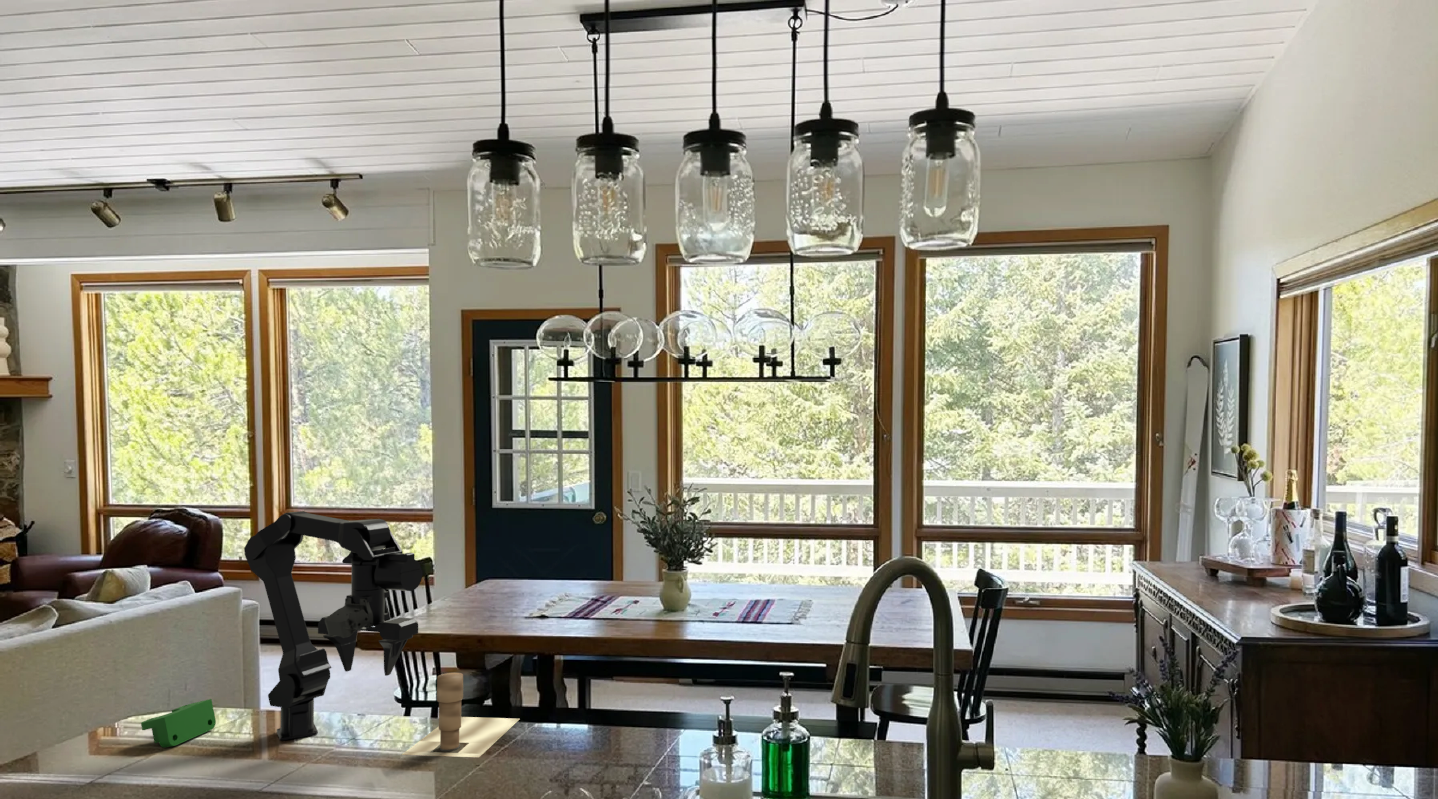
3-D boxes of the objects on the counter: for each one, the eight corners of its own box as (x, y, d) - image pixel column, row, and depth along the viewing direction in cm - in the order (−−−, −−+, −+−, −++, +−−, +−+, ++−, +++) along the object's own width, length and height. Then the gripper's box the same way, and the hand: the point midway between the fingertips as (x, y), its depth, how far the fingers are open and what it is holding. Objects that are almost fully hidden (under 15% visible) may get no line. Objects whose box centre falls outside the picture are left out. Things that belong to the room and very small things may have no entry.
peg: (437, 752, 151) (438, 673, 152) (463, 750, 152) (463, 671, 153) (435, 761, 147) (436, 680, 148) (462, 759, 148) (462, 678, 149)
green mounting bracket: (186, 754, 164) (192, 705, 168) (212, 748, 163) (218, 699, 167) (132, 750, 154) (140, 699, 158) (160, 744, 153) (167, 692, 157)
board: (401, 763, 147) (401, 754, 147) (451, 724, 167) (451, 716, 167) (478, 766, 145) (478, 757, 145) (520, 726, 165) (520, 718, 165)
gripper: (294, 593, 153) (293, 680, 152) (377, 598, 146) (376, 690, 146) (341, 583, 163) (340, 664, 163) (420, 587, 157) (420, 672, 156)
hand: (367, 673), depth 157 cm, fingers open, 9 cm apart
